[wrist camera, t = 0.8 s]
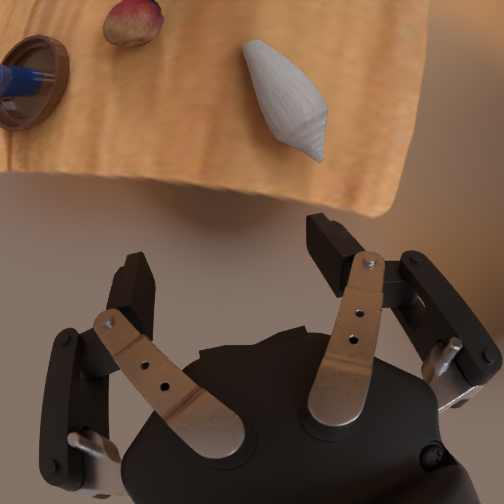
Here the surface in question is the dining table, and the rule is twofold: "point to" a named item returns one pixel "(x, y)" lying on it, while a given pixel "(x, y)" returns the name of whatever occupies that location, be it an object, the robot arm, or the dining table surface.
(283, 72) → the seashell
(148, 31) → the fruit
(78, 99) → the dining table surface
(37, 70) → the soy bottle
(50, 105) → the bowl
